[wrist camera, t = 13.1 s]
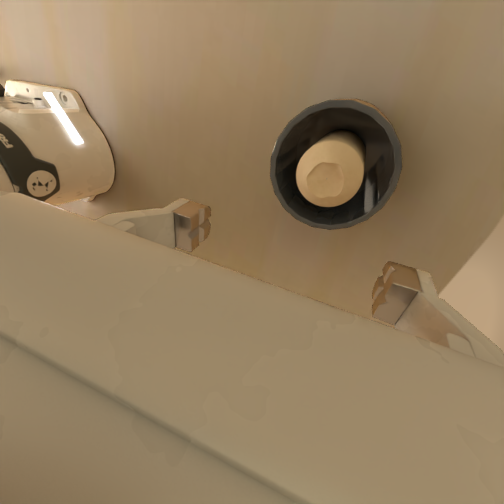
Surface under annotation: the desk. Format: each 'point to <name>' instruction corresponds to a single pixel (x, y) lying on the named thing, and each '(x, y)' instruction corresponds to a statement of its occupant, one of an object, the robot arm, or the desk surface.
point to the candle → (332, 169)
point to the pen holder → (375, 170)
